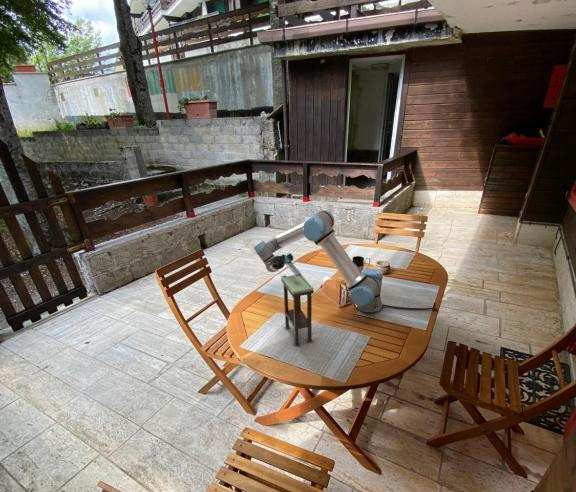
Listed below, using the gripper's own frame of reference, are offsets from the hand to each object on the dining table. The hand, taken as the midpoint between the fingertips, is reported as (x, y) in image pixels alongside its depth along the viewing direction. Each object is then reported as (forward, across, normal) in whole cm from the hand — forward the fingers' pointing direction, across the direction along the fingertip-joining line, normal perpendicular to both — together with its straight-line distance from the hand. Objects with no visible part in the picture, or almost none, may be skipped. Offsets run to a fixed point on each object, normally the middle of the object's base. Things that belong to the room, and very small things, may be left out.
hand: (287, 256), depth 155 cm
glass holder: (-48, -62, -17) cm, 80 cm away
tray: (+7, 0, -14) cm, 16 cm away
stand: (-7, 0, -40) cm, 41 cm away
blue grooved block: (+2, 0, -5) cm, 5 cm away
